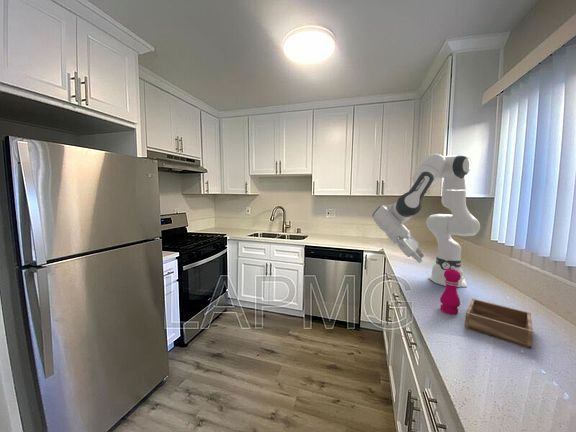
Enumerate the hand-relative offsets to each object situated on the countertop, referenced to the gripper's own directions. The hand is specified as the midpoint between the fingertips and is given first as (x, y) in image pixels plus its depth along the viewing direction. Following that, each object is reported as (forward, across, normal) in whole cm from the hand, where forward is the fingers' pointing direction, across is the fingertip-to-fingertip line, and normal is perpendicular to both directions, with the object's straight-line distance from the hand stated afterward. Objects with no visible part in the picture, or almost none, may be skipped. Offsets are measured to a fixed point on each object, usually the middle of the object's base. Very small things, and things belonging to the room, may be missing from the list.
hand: (421, 259), depth 111 cm
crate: (+34, -6, -4) cm, 35 cm away
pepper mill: (+23, 0, +7) cm, 24 cm away
